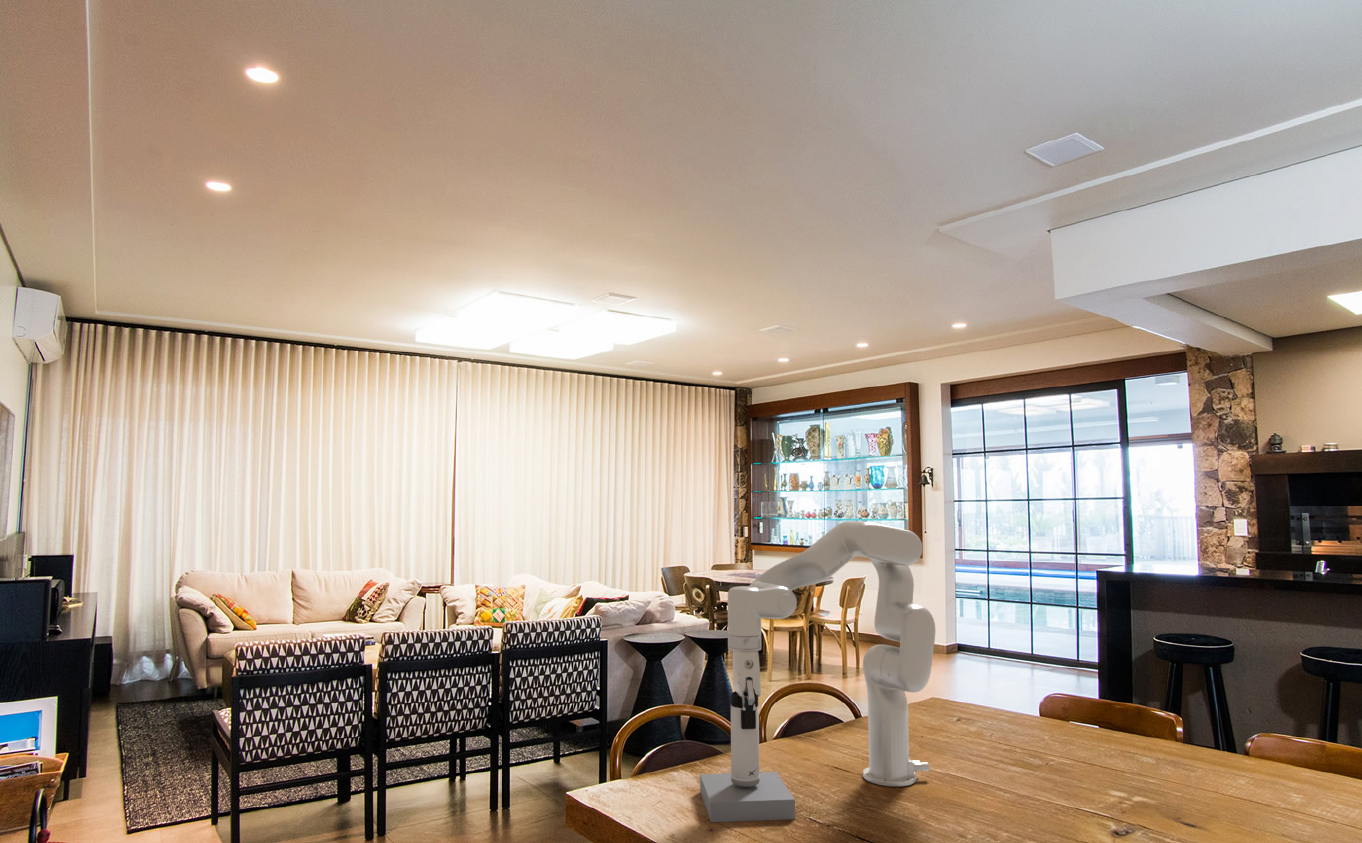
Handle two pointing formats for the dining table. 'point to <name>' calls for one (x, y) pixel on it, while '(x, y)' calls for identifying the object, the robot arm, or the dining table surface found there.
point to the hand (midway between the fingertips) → (745, 723)
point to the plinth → (746, 798)
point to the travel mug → (744, 746)
